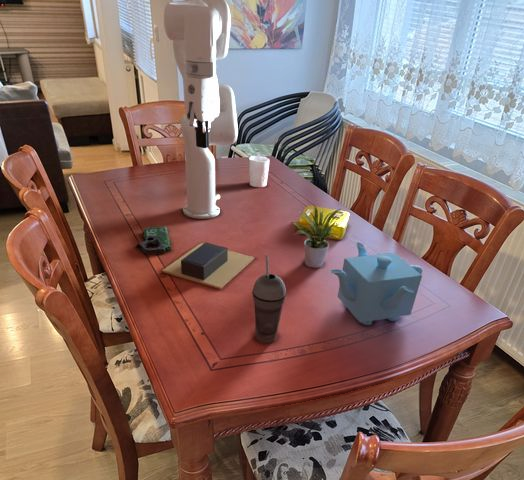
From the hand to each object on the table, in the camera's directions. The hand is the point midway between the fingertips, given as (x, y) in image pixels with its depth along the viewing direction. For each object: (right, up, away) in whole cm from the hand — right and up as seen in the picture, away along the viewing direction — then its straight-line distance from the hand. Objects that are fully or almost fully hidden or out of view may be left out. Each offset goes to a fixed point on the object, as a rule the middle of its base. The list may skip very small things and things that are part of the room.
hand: (202, 146), depth 127 cm
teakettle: (+43, -46, -11) cm, 64 cm away
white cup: (+15, +10, +59) cm, 62 cm away
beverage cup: (+17, -53, -22) cm, 60 cm away
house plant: (+32, -30, +9) cm, 45 cm away
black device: (+3, -28, +5) cm, 28 cm away
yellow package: (+37, -15, +28) cm, 49 cm away
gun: (-17, -23, +13) cm, 31 cm away
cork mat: (+2, -32, +3) cm, 32 cm away
